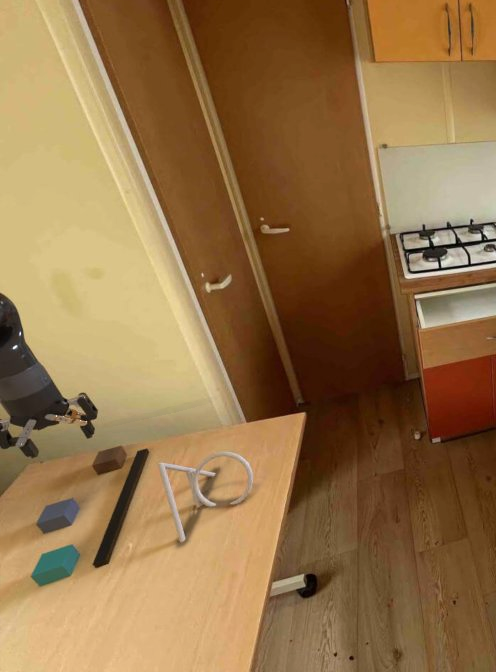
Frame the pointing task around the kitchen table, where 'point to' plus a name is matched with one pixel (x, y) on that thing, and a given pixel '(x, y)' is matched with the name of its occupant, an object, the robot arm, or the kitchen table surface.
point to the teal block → (55, 565)
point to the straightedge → (120, 510)
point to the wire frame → (195, 488)
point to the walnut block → (109, 460)
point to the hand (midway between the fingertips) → (63, 445)
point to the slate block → (58, 515)
